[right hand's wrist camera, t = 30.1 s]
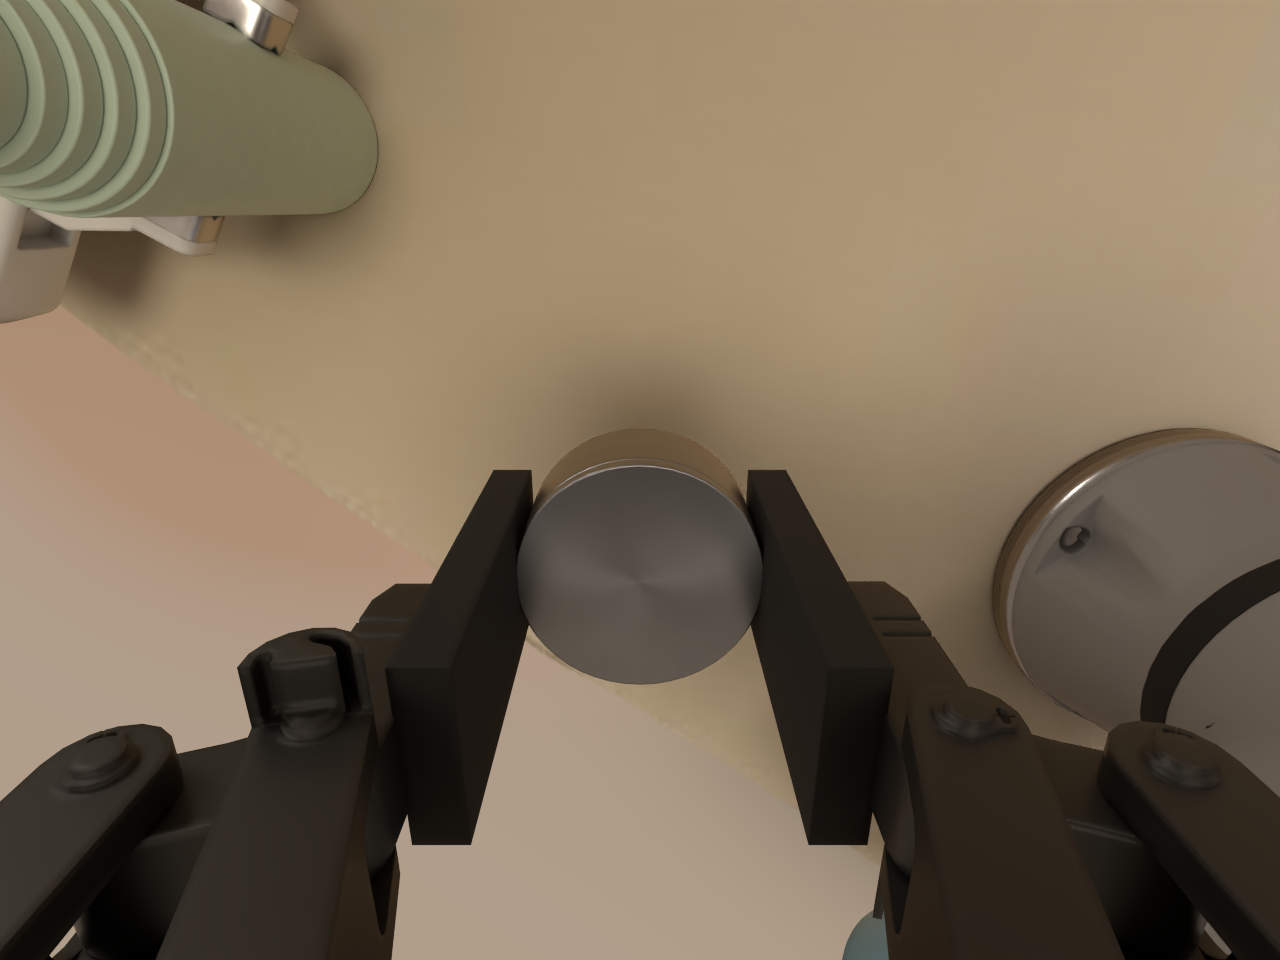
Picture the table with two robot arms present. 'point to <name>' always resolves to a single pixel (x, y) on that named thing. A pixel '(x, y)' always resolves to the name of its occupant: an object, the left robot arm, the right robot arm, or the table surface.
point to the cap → (639, 559)
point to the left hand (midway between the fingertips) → (245, 136)
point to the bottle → (169, 116)
